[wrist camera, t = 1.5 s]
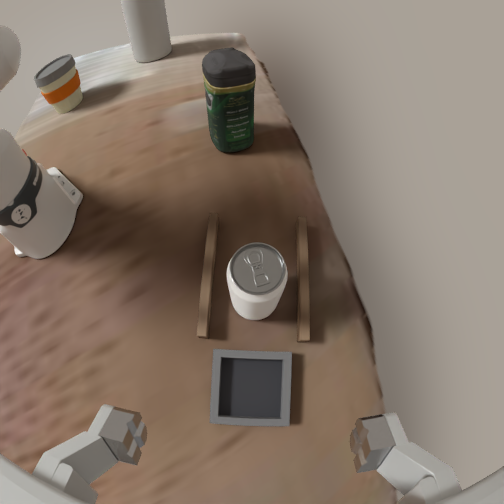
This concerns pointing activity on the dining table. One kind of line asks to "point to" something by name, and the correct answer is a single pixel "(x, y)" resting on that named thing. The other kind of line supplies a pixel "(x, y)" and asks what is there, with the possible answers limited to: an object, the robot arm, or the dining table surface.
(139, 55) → the cylinder vase
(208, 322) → the rail channel
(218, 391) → the tray
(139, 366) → the dining table surface
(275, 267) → the can
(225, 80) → the coffee jar
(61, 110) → the reusable coffee cup
